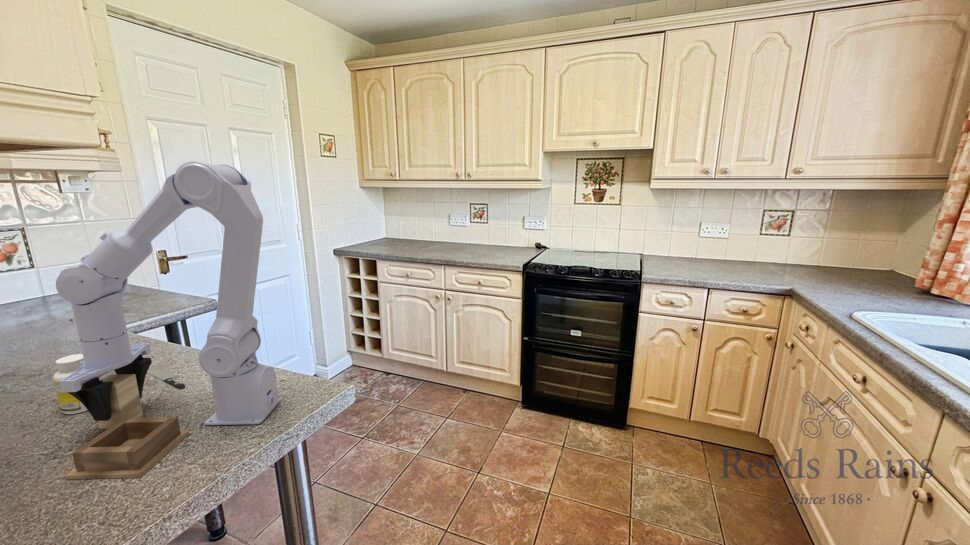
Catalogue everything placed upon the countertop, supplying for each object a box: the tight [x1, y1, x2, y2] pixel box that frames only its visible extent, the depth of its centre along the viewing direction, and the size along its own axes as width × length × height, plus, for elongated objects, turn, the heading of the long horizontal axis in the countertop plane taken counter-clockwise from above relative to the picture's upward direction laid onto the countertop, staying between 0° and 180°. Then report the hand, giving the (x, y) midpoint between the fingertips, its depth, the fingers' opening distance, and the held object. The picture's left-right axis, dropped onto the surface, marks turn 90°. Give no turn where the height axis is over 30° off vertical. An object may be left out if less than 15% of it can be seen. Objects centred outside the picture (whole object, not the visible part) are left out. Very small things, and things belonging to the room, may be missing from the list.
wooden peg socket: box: [64, 416, 190, 481], centre depth 59 cm, size 10×10×4 cm
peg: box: [97, 373, 144, 430], centre depth 67 cm, size 4×4×8 cm
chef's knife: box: [147, 368, 186, 390], centre depth 84 cm, size 19×1×3 cm
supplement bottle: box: [52, 353, 88, 415], centre depth 71 cm, size 5×5×10 cm
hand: (119, 409), depth 67 cm, fingers open, 6 cm apart
